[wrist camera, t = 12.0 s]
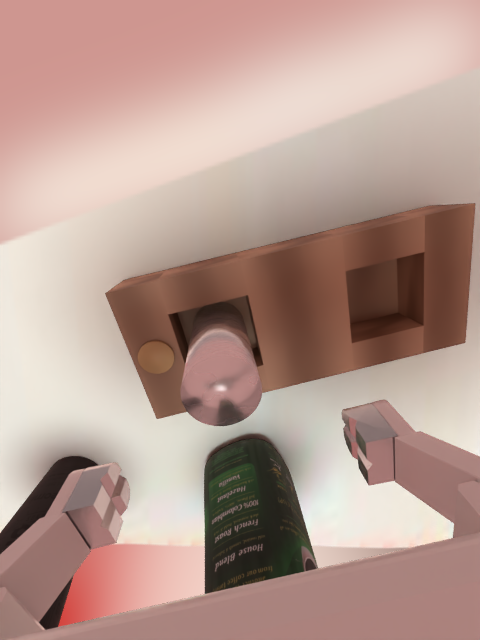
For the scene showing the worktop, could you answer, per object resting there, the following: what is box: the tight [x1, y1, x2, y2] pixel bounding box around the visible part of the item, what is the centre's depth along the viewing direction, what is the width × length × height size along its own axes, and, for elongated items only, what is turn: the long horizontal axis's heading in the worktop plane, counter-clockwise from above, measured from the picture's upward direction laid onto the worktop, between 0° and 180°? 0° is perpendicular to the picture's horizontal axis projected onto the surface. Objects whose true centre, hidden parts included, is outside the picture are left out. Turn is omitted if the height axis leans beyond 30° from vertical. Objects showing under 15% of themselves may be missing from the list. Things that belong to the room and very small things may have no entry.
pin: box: [180, 302, 262, 426], centre depth 18 cm, size 4×4×9 cm
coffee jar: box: [204, 439, 318, 594], centre depth 21 cm, size 10×8×19 cm
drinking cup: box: [0, 457, 98, 630], centre depth 18 cm, size 8×8×20 cm
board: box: [105, 203, 475, 419], centre depth 21 cm, size 24×10×4 cm, turn 103°
